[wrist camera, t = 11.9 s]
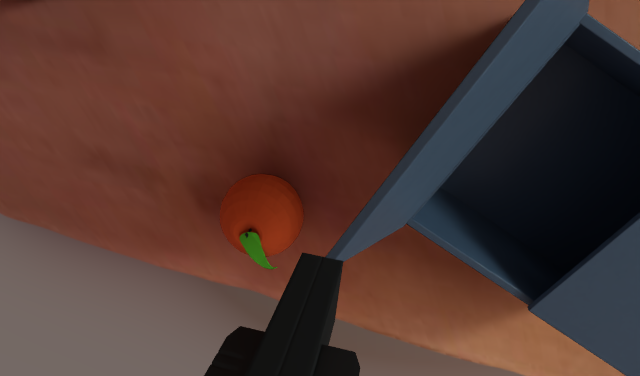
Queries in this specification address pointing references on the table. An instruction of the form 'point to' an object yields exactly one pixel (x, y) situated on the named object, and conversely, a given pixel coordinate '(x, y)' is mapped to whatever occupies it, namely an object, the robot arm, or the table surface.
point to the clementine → (261, 216)
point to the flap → (463, 119)
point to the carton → (558, 196)
